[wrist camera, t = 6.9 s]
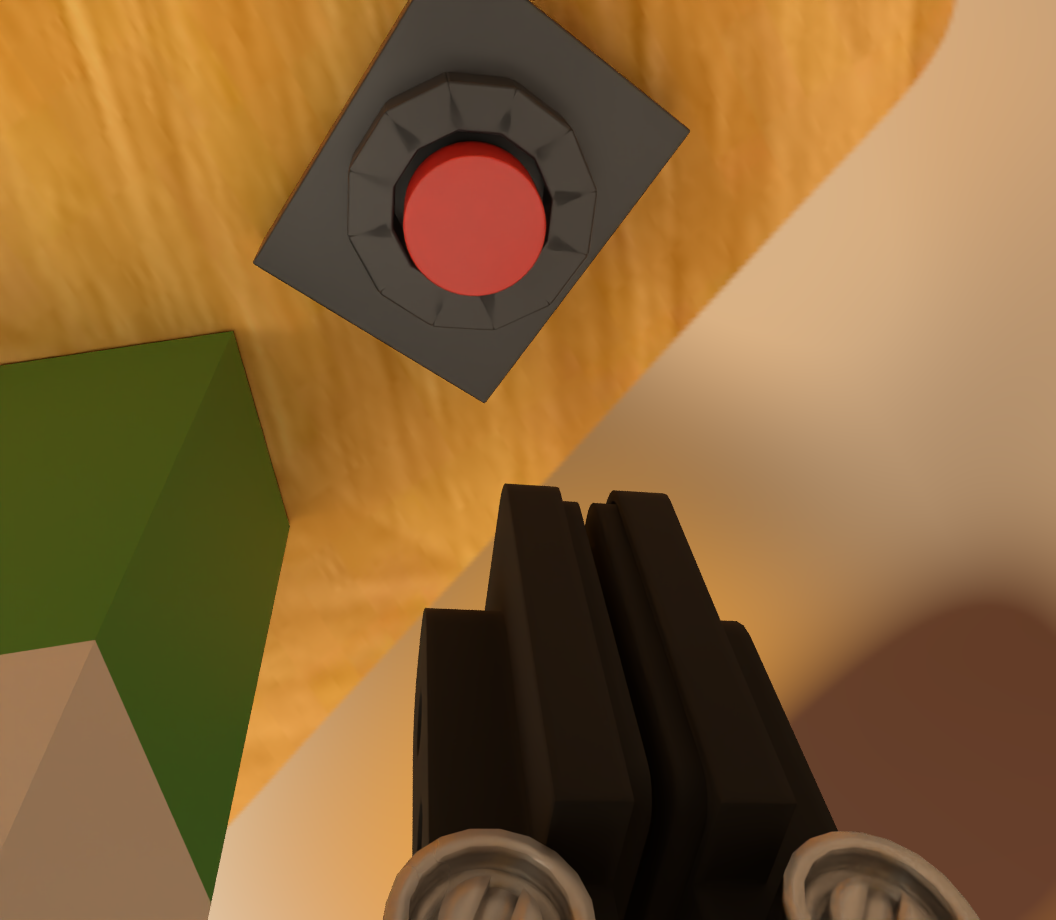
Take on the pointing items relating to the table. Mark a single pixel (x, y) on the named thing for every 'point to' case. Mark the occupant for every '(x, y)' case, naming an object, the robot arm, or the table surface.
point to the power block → (456, 116)
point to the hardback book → (128, 623)
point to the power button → (473, 219)
